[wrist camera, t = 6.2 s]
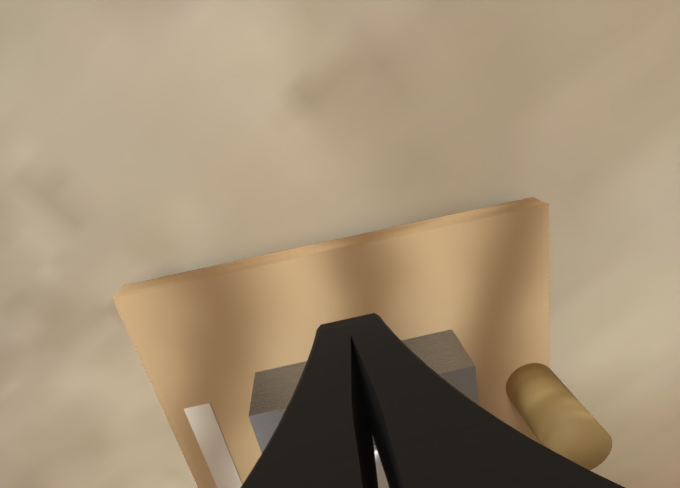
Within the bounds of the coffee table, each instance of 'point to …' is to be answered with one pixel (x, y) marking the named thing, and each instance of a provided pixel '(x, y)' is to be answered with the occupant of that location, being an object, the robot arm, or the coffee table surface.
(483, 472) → the robot arm
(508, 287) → the wooden base with peg
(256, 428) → the cover
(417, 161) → the coffee table surface
